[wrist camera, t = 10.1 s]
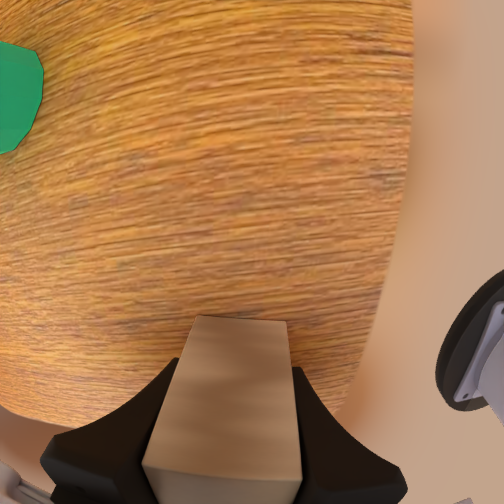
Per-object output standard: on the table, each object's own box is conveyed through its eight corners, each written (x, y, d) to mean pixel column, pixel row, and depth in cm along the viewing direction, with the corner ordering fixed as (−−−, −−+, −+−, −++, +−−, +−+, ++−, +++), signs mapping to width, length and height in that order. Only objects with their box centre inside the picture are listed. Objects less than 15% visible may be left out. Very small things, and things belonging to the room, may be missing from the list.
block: (286, 320, 13) (303, 480, 6) (277, 386, 15) (282, 528, 7) (196, 314, 13) (139, 463, 6) (199, 380, 15) (164, 517, 7)
